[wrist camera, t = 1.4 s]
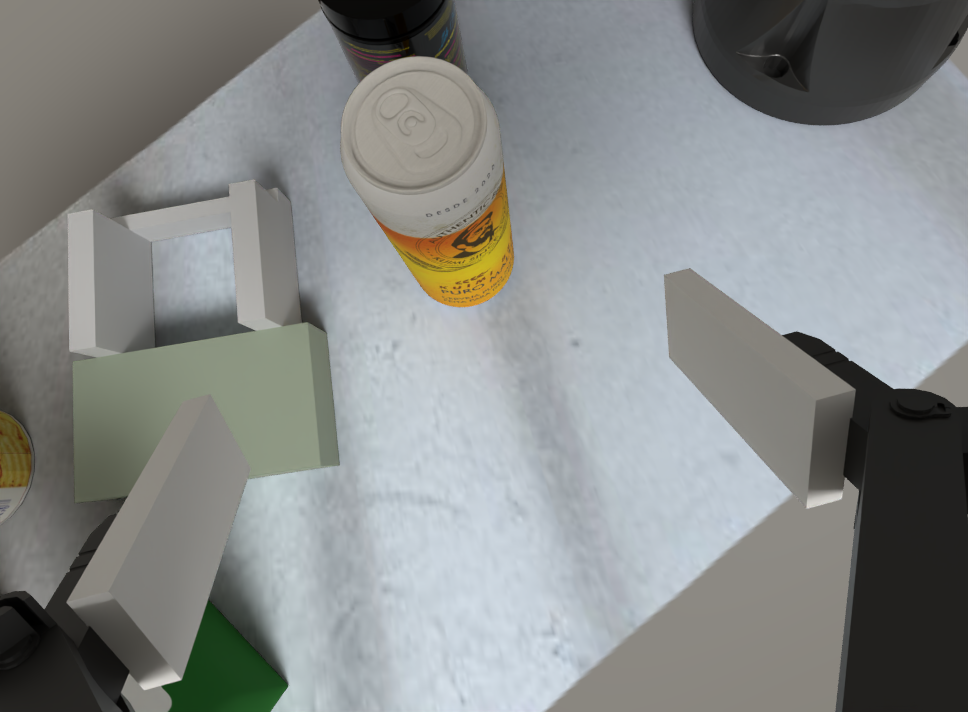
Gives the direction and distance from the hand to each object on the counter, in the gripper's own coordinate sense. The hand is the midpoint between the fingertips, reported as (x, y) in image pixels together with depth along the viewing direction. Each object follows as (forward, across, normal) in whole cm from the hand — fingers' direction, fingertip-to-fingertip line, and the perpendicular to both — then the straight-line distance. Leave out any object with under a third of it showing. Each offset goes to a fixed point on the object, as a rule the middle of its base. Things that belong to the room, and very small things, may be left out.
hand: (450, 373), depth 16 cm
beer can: (+19, +2, -4) cm, 20 cm away
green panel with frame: (+20, -14, -5) cm, 25 cm away
